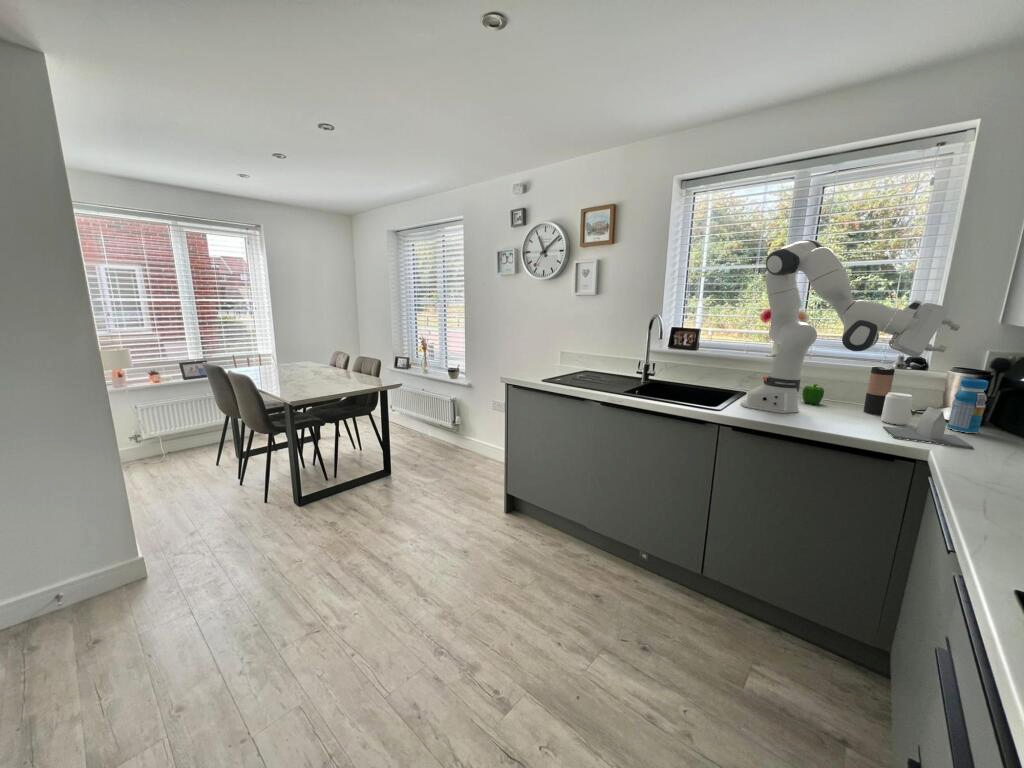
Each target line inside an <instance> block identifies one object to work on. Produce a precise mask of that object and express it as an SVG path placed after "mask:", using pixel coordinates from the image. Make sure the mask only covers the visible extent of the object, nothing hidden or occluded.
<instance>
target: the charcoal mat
mask: <svg viewBox="0 0 1024 768" xmlns="http://www.w3.org/2000/svg"><path fill="white" fill-rule="evenodd" d="M883 428H884V429H885V430H886V431H887V432H886V431H885V430H884V429H883ZM882 429H883V430H884V431H885V432H886V433H888V434H889V435H890V434H891V435H892V436H893V437H894V438H893V437H892V436H891V435H890V436H891V437H892V438H893V439H896V438H901V439H900V440H903V439H909V440H908V441H910V440H917V441H916V442H918V441H924V442H923V443H925V442H931V443H930V444H932V443H938V444H937V445H939V444H944V445H943V446H947V445H950V446H949V447H954V446H955V448H956V447H957V448H961V447H962V448H963V449H968V448H969V449H968V450H974V446H973V445H972V444H971V443H968V442H967V441H965V440H964V439H962V438H960V437H959V436H957V435H956V434H955V435H953V434H946V433H944V435H943V439H942V440H939V439H929V438H927V437H924V436H922V435H920V434H918V433H916V432H917V429H908V428H902V427H901V428H900V427H894V426H893V427H891V426H882Z"/></svg>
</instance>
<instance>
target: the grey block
mask: <svg viewBox="0 0 1024 768" xmlns="http://www.w3.org/2000/svg"><path fill="white" fill-rule="evenodd" d="M946 428H947V421H946V418H945V413H944V411H943V410H939V409H937V408H933V407H931V406H928V407H927V408H926V410H925V411H924V412H923V413H922V414H921V415H920V416H919V419H918V424H917V428H916V430H917V432H916V433H918V434H920V435H922V436H924V437H927V438H929V439H939V440H942V439H943V435H944V434H945V431H946Z"/></svg>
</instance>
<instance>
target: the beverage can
mask: <svg viewBox="0 0 1024 768" xmlns="http://www.w3.org/2000/svg"><path fill="white" fill-rule="evenodd" d="M913 402H914V397H913V394H909V393H905V392H897V391H896V392H894V391H893V392H889V393H888V394H887V395H886V398H885V402H884V407H883V412H882V415H880V420H881V421H882V422H883V423H885V422H886V423H885V424H888V423H890V424H889V425H893V424H896V425H895V426H906V425H908V424H909V421H910V416H911V411H912V408H913V404H914V403H913Z"/></svg>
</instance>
